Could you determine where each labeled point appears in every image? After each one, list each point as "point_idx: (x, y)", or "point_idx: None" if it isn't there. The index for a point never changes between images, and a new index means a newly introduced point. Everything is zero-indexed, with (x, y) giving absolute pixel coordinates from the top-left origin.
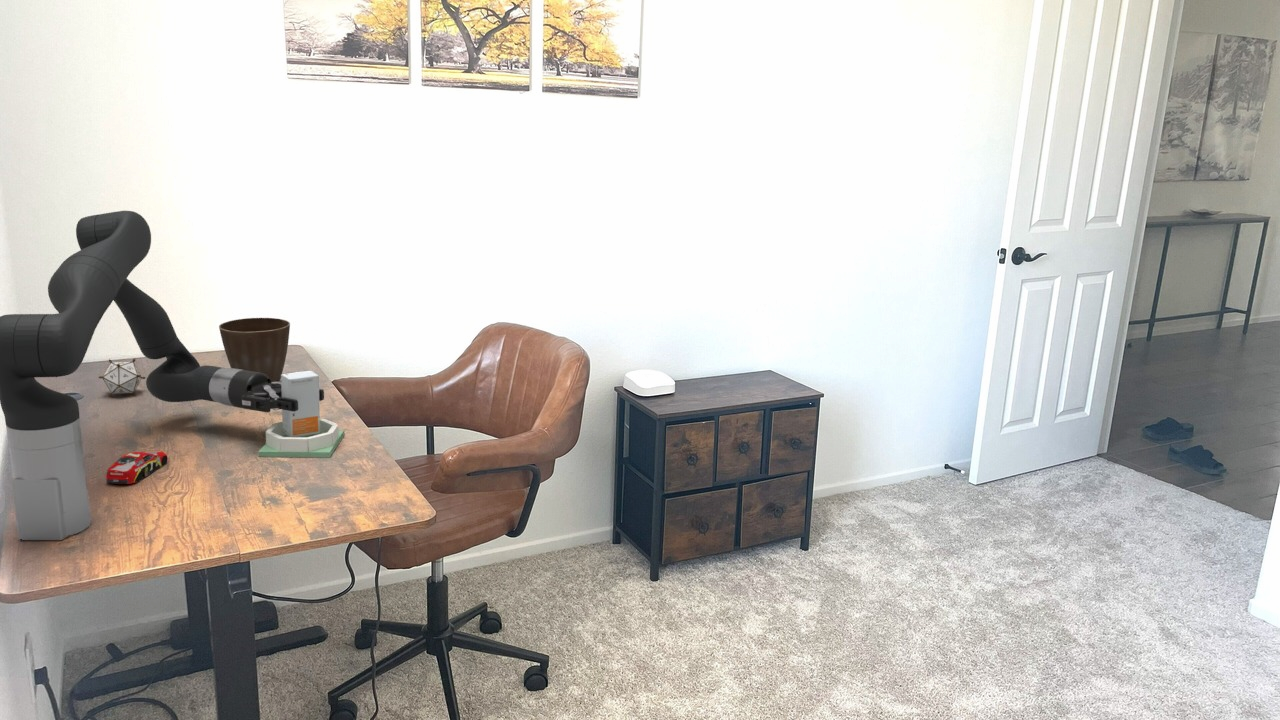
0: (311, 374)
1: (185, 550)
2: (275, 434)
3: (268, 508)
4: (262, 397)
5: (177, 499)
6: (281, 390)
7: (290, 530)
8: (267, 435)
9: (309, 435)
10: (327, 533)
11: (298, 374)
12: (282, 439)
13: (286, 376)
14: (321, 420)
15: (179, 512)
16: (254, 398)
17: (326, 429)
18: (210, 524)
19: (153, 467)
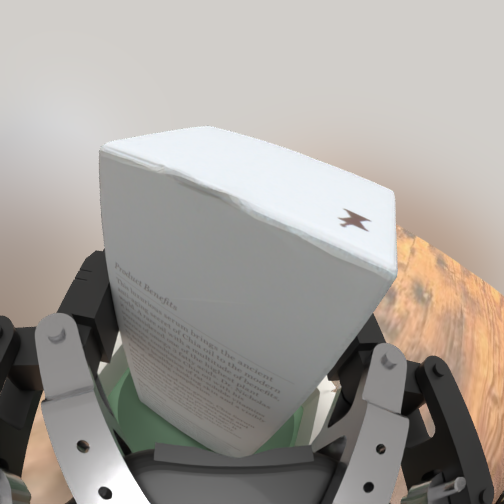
0: (214, 133)
1: (489, 293)
2: (317, 432)
3: (429, 286)
4: (443, 409)
5: (496, 382)
6: (227, 466)
7: (424, 251)
8: None
9: (154, 415)
10: (402, 229)
11: (268, 164)
12: (332, 383)
13: (386, 207)
14: (99, 372)
15: (496, 350)
16: (472, 423)
17: (122, 363)
18: (476, 307)
19: (502, 502)
